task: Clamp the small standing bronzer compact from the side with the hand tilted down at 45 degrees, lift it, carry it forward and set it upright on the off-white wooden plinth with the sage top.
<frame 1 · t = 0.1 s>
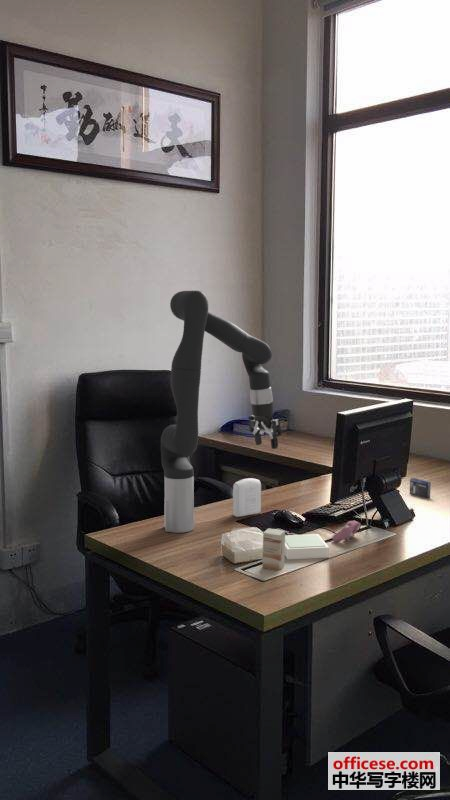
hand: (266, 446, 249), 22 cm above the table, tool pointing down, fingers open, 8 cm apart
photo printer: (247, 514, 247), on the table
mini dv tape: (419, 496, 271), on the table
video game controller: (347, 539, 221), on the table
skincare box: (273, 567, 198), on the table
plinth: (303, 551, 210), on the table
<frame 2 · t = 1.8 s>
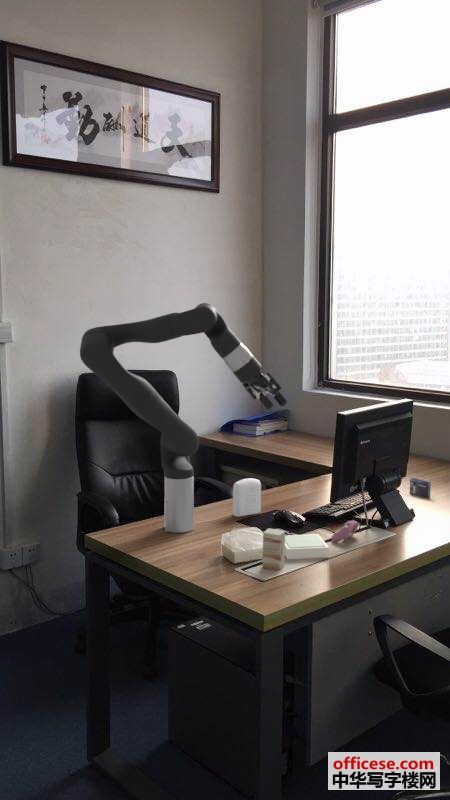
hand: (277, 406, 206), 42 cm above the table, tool tilted 40°, fingers open, 8 cm apart
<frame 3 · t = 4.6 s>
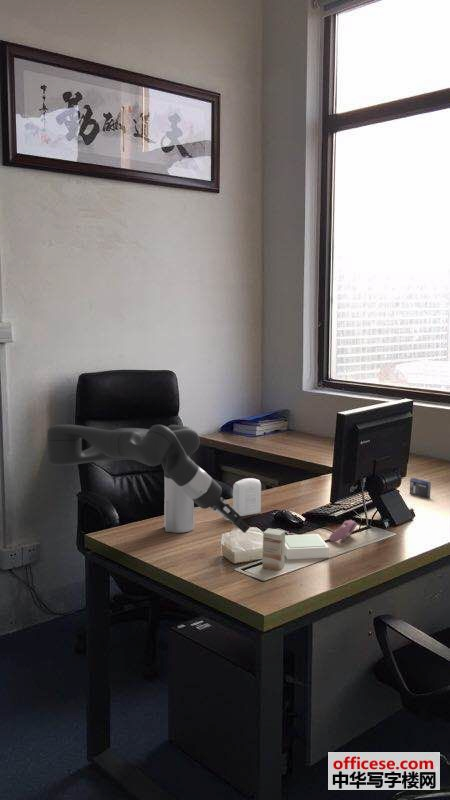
hand: (240, 525, 192), 13 cm above the table, tool tilted 45°, fingers open, 8 cm apart
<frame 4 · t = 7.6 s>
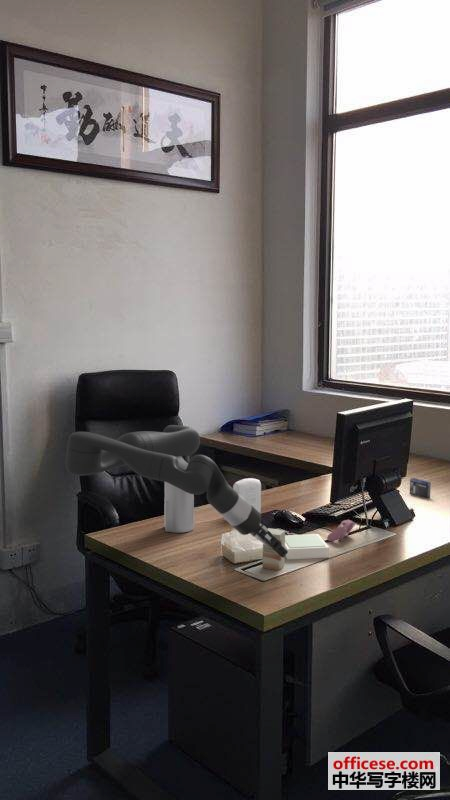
hand: (279, 550, 198), 4 cm above the table, tool tilted 45°, fingers closed on skincare box, 6 cm apart
skincare box: (273, 567, 198), on the table, touching gripper
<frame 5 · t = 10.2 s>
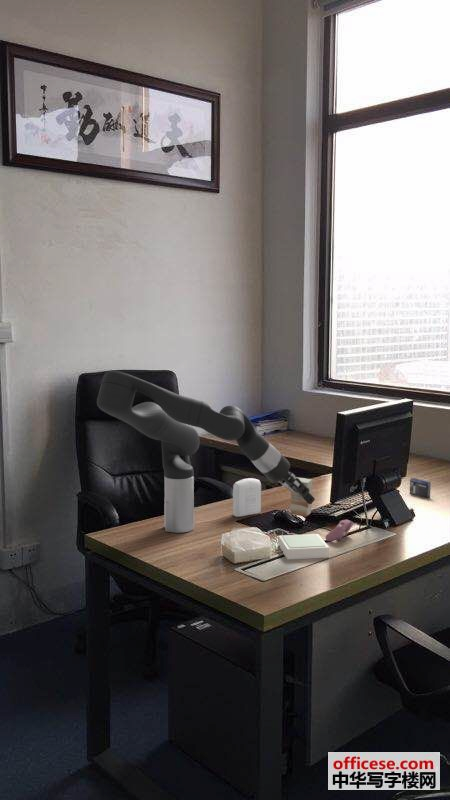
hand: (306, 498, 207), 16 cm above the table, tool tilted 45°, fingers closed on skincare box, 6 cm apart
skincare box: (300, 514, 207), point 11 cm above the table, touching gripper
when the fingers open (9 cm above the table, at t = 12.7 s): skincare box drops 1 cm, resting on plinth.
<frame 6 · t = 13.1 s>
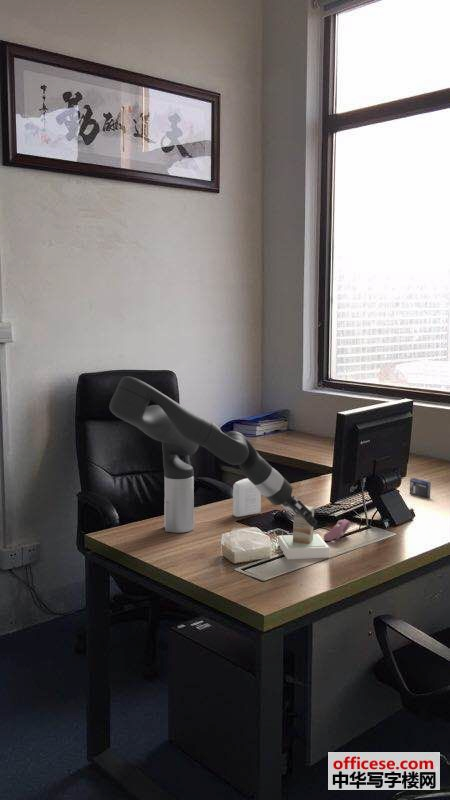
hand: (307, 520, 209), 9 cm above the table, tool tilted 45°, fingers open, 8 cm apart
skincare box: (303, 541, 209), point 3 cm above the table, touching plinth
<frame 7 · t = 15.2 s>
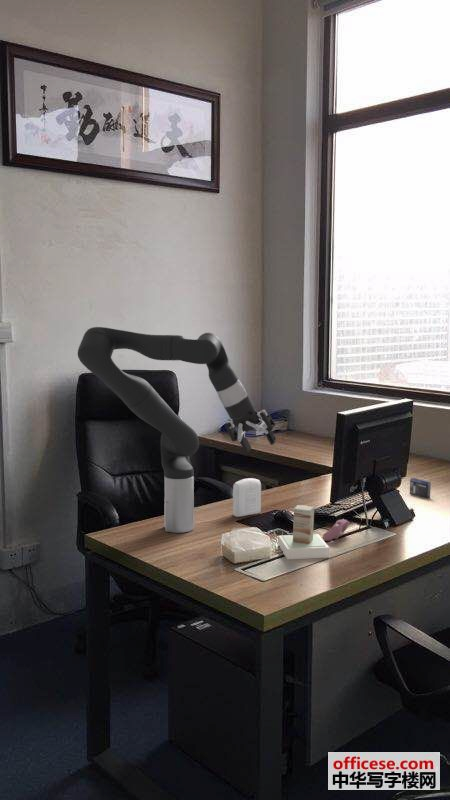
hand: (261, 446, 207), 31 cm above the table, tool tilted 30°, fingers open, 8 cm apart
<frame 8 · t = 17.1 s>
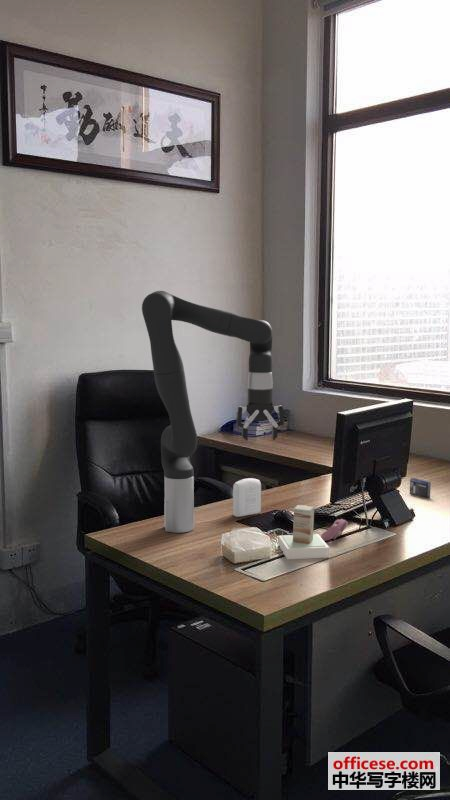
hand: (259, 439, 220), 30 cm above the table, tool pointing down, fingers open, 8 cm apart
at the end: skincare box inside the target area on the plinth (0.3 cm from its centre), point 3.0 cm above the plinth's base; skincare box tilted 0°; the gripper is holding nothing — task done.
